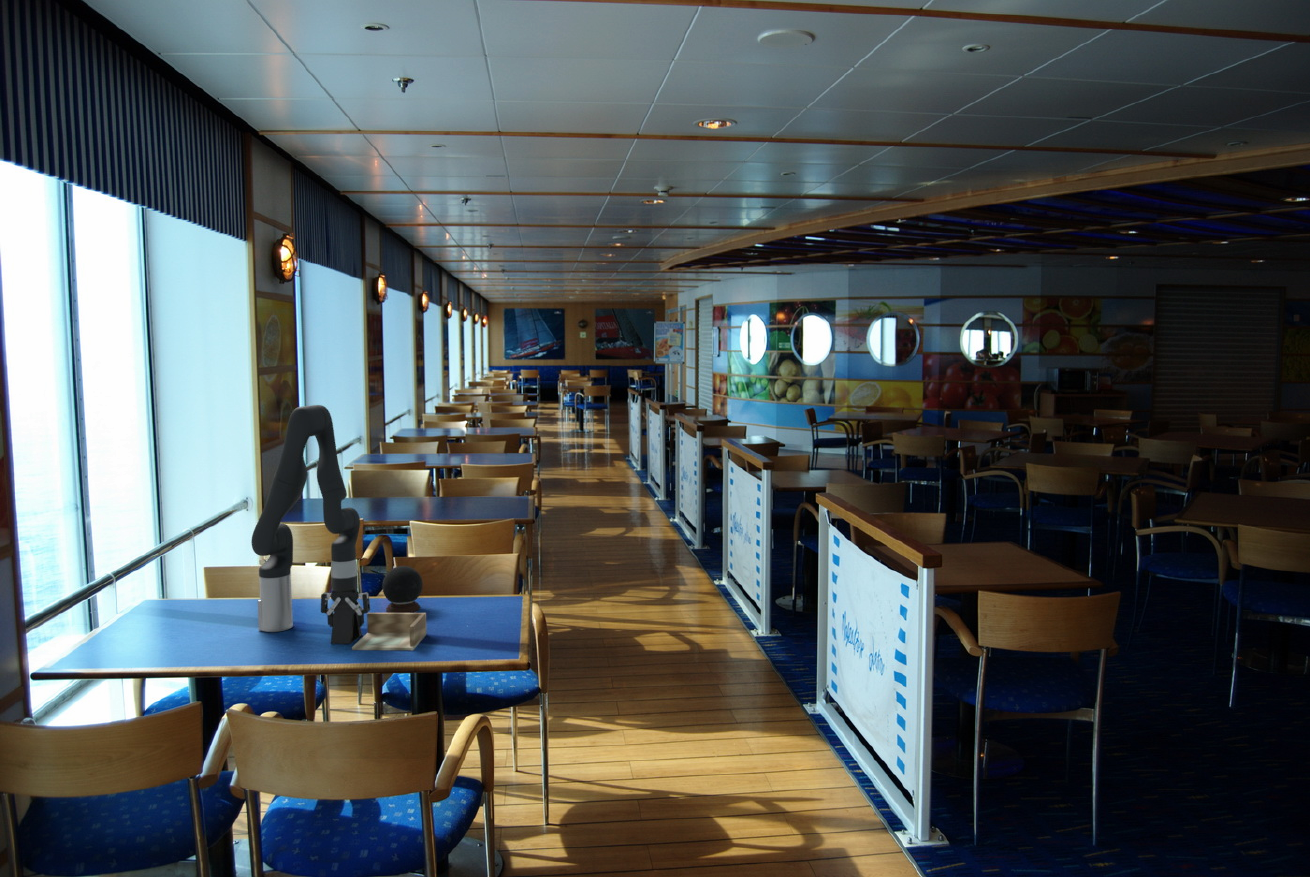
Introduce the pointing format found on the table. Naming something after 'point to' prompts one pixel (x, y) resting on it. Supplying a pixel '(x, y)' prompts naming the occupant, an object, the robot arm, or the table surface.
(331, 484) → the robot arm
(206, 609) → the table surface
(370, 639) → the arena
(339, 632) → the phone stand
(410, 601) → the stone ball on stand
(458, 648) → the table surface
